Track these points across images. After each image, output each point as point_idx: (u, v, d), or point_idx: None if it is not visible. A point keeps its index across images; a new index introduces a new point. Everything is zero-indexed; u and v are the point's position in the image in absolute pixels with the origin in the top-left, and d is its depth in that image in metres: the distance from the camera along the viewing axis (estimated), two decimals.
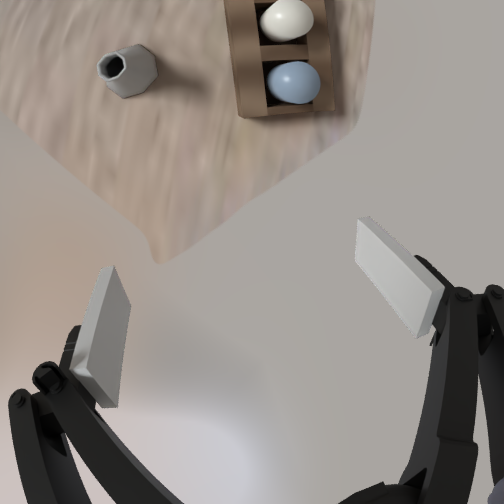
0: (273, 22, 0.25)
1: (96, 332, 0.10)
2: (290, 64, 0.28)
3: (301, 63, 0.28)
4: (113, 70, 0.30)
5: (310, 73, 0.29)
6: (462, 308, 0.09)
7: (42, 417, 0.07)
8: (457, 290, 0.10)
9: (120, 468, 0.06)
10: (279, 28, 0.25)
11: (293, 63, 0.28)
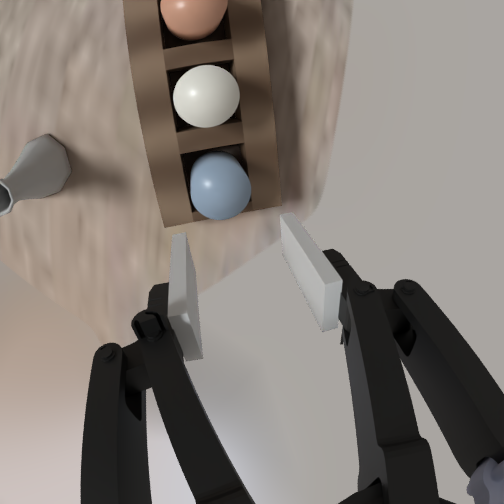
0: (179, 110, 0.20)
1: (186, 285, 0.12)
2: (207, 169, 0.23)
3: (222, 165, 0.23)
4: None
5: (236, 178, 0.24)
6: (365, 303, 0.10)
7: (135, 369, 0.10)
8: (355, 285, 0.11)
9: (197, 429, 0.07)
10: (188, 117, 0.21)
11: (211, 167, 0.23)
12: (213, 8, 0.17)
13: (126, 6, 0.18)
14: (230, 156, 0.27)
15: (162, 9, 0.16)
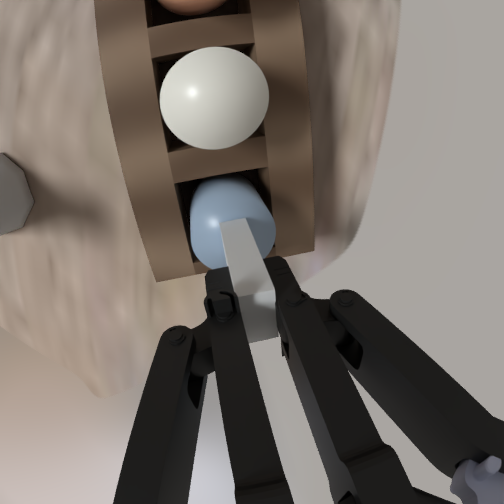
0: (170, 122, 0.13)
1: None
2: (214, 205, 0.16)
3: (236, 200, 0.16)
4: None
5: (255, 217, 0.17)
6: (299, 314, 0.10)
7: (205, 351, 0.10)
8: (286, 296, 0.11)
9: (252, 415, 0.07)
10: (185, 133, 0.13)
11: (220, 202, 0.16)
12: None
13: None
14: (244, 181, 0.20)
15: None
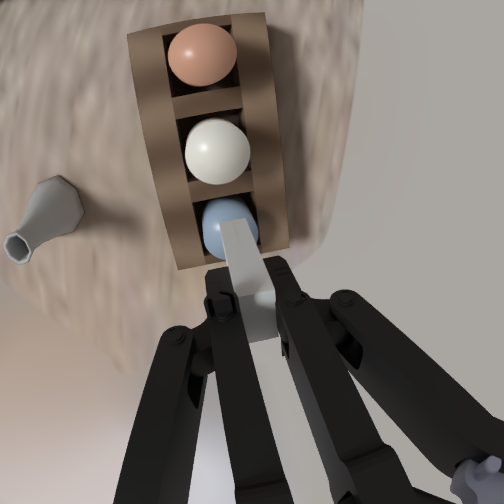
0: (191, 168, 0.22)
1: None
2: (218, 216, 0.26)
3: (232, 213, 0.27)
4: None
5: None
6: (299, 314, 0.10)
7: (205, 351, 0.10)
8: (285, 296, 0.11)
9: (252, 415, 0.07)
10: (200, 174, 0.23)
11: (222, 214, 0.26)
12: (222, 60, 0.19)
13: (132, 50, 0.20)
14: (238, 199, 0.30)
15: (170, 61, 0.18)
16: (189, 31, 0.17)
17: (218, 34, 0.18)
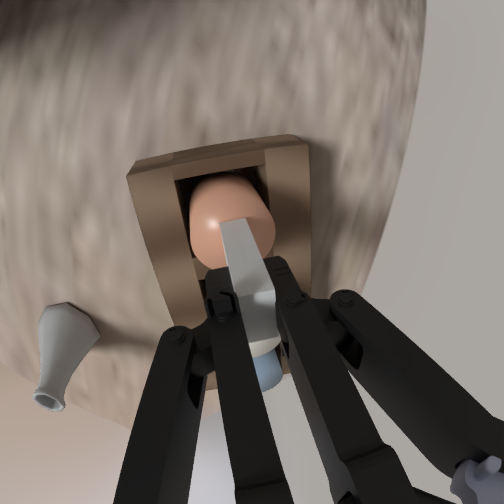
0: None
1: None
2: None
3: (259, 365, 0.26)
4: None
5: (270, 371, 0.27)
6: (299, 314, 0.10)
7: (205, 351, 0.10)
8: (285, 296, 0.11)
9: (252, 415, 0.07)
10: None
11: None
12: (257, 243, 0.18)
13: (136, 199, 0.19)
14: None
15: (193, 247, 0.17)
16: (216, 208, 0.17)
17: (253, 211, 0.17)
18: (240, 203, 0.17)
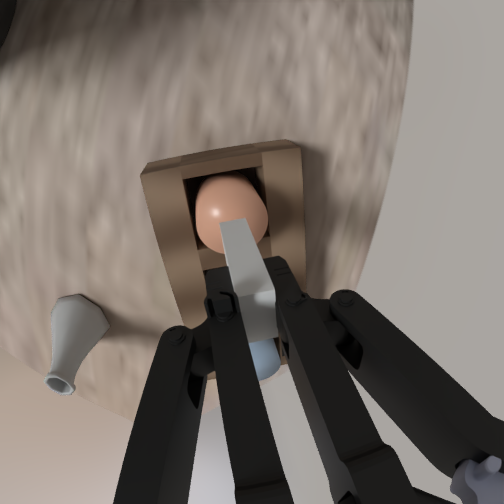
0: None
1: None
2: None
3: (258, 352, 0.28)
4: None
5: (269, 358, 0.29)
6: (299, 314, 0.10)
7: (205, 351, 0.10)
8: (285, 296, 0.11)
9: (253, 415, 0.07)
10: None
11: None
12: (252, 228, 0.21)
13: (148, 195, 0.21)
14: None
15: (199, 231, 0.21)
16: (217, 197, 0.20)
17: (249, 200, 0.20)
18: (238, 194, 0.20)
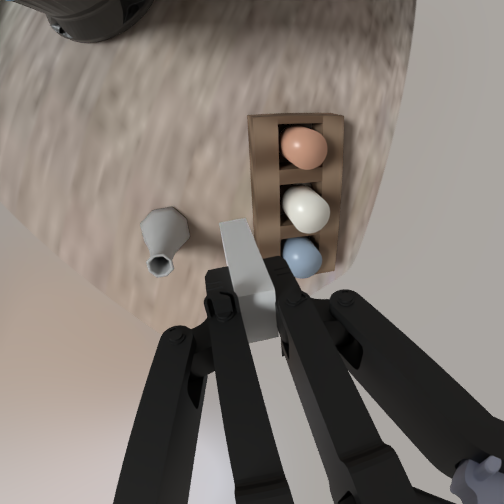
0: (295, 222, 0.37)
1: None
2: (300, 251, 0.41)
3: (309, 249, 0.41)
4: None
5: (315, 256, 0.42)
6: (299, 314, 0.10)
7: (205, 351, 0.10)
8: (285, 296, 0.11)
9: (253, 415, 0.07)
10: (299, 227, 0.38)
11: (303, 250, 0.41)
12: (318, 155, 0.35)
13: (256, 130, 0.35)
14: (307, 238, 0.45)
15: (289, 152, 0.34)
16: (302, 134, 0.33)
17: (318, 138, 0.34)
18: (313, 133, 0.33)
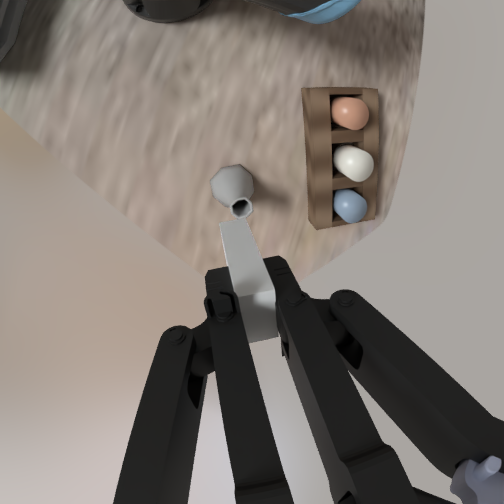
0: (347, 172, 0.43)
1: None
2: (350, 198, 0.47)
3: (357, 197, 0.47)
4: None
5: (361, 203, 0.48)
6: (299, 314, 0.10)
7: (205, 351, 0.10)
8: (285, 296, 0.11)
9: (252, 415, 0.07)
10: (351, 176, 0.44)
11: (352, 197, 0.47)
12: (362, 118, 0.40)
13: (312, 99, 0.40)
14: (352, 190, 0.50)
15: (341, 115, 0.40)
16: (350, 101, 0.39)
17: (362, 105, 0.39)
18: (358, 101, 0.39)
